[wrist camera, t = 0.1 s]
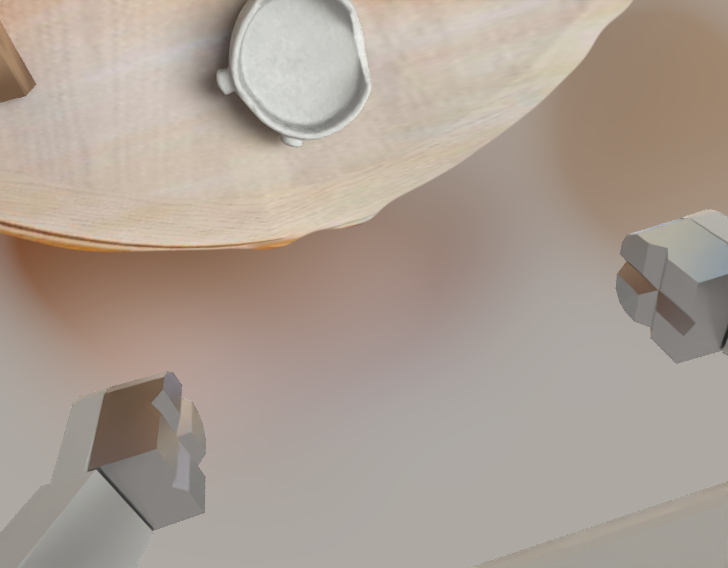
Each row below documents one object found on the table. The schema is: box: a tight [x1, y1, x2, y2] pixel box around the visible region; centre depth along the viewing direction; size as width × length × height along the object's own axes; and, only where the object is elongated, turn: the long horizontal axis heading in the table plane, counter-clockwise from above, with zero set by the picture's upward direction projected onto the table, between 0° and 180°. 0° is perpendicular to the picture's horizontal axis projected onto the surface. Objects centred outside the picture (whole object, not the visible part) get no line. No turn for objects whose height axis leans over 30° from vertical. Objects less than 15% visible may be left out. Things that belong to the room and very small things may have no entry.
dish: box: [216, 0, 371, 147], centre depth 50 cm, size 14×14×5 cm
